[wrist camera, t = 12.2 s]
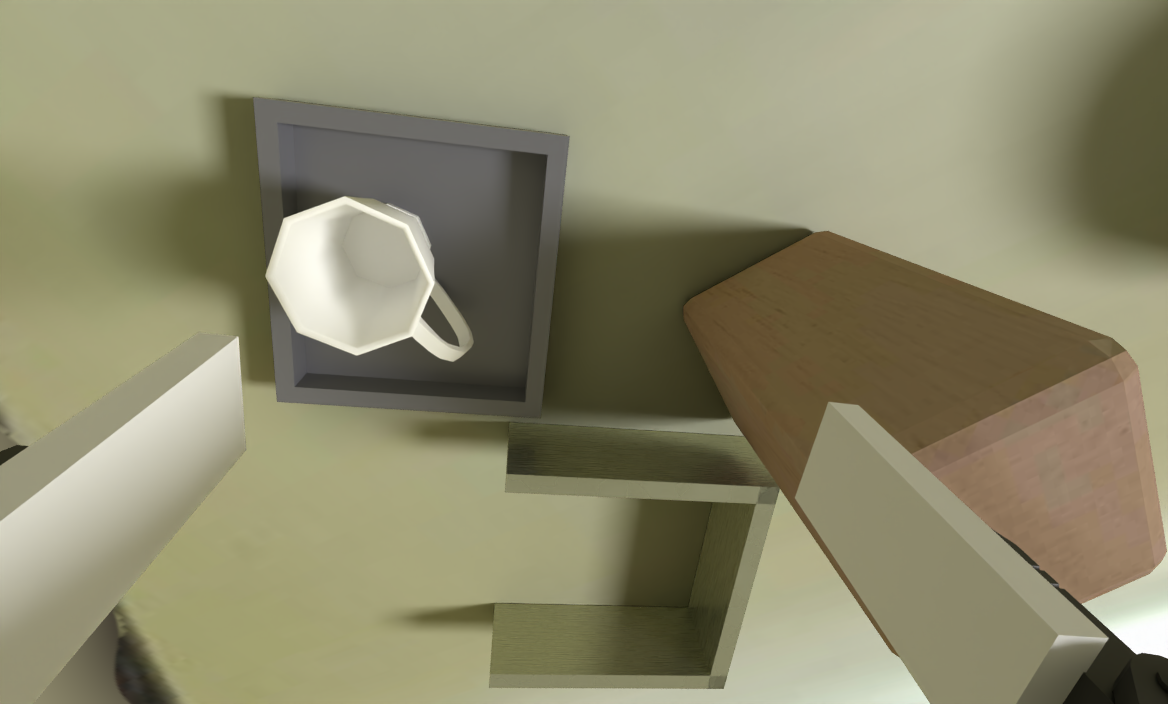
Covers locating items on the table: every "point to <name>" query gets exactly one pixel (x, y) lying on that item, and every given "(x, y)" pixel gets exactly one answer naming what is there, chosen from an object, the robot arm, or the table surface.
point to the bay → (630, 633)
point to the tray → (458, 244)
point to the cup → (361, 278)
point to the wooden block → (944, 399)
